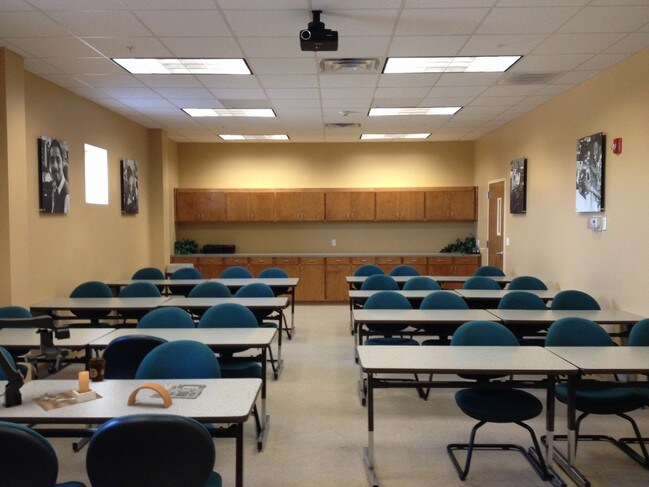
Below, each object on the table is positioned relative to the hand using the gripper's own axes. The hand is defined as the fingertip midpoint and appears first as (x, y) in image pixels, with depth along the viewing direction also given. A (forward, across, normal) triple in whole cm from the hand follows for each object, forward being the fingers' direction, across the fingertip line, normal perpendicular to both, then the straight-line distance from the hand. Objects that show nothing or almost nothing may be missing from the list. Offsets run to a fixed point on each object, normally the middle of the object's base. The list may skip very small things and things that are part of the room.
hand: (47, 372), depth 256 cm
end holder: (+12, +12, -16) cm, 23 cm away
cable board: (+13, +6, -9) cm, 17 cm away
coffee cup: (+13, +27, +9) cm, 31 cm away
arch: (+14, +32, -43) cm, 56 cm away
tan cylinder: (+12, +11, -16) cm, 23 cm away
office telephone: (+14, +52, -36) cm, 65 cm away
